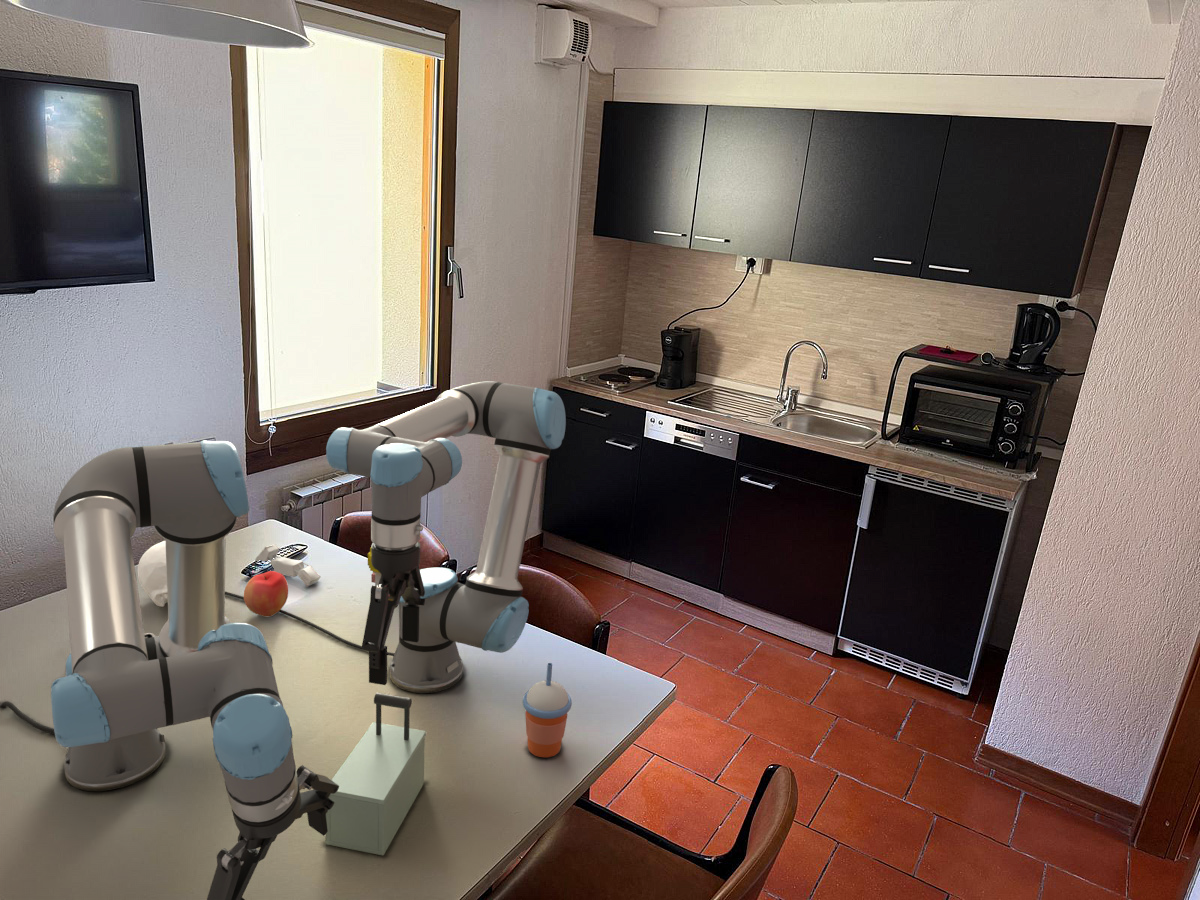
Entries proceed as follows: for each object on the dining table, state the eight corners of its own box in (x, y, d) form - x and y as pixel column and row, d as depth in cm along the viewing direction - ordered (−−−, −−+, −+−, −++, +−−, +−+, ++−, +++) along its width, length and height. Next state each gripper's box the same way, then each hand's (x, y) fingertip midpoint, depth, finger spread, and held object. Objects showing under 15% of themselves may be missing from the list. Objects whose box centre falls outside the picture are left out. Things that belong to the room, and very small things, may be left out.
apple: (273, 600, 207) (272, 562, 204) (297, 613, 202) (296, 575, 199) (237, 614, 200) (234, 575, 197) (261, 628, 194) (259, 588, 191)
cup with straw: (561, 767, 156) (568, 681, 151) (513, 757, 158) (518, 672, 153) (573, 737, 165) (579, 655, 160) (527, 729, 167) (532, 647, 161)
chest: (372, 773, 151) (372, 727, 148) (423, 783, 150) (424, 737, 147) (325, 844, 135) (324, 793, 132) (383, 855, 133) (383, 805, 130)
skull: (204, 625, 194) (201, 560, 189) (125, 605, 199) (121, 542, 195) (243, 602, 206) (242, 541, 202) (168, 584, 212) (165, 524, 207)
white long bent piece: (253, 565, 223) (254, 542, 221) (265, 560, 226) (266, 537, 224) (309, 593, 215) (310, 569, 213) (320, 588, 218) (321, 564, 216)
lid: (373, 725, 149) (373, 681, 146) (426, 734, 147) (426, 691, 145) (324, 793, 132) (323, 745, 129) (383, 804, 130) (383, 756, 128)
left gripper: (200, 907, 89) (227, 977, 103) (363, 729, 107) (367, 809, 121) (149, 866, 92) (182, 940, 105) (317, 699, 109) (326, 781, 123)
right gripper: (386, 578, 122) (386, 706, 128) (445, 517, 146) (442, 627, 152) (337, 571, 123) (339, 698, 129) (403, 511, 147) (402, 621, 153)
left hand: (281, 870), depth 113 cm, fingers open, 13 cm apart
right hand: (395, 660), depth 141 cm, fingers open, 13 cm apart
